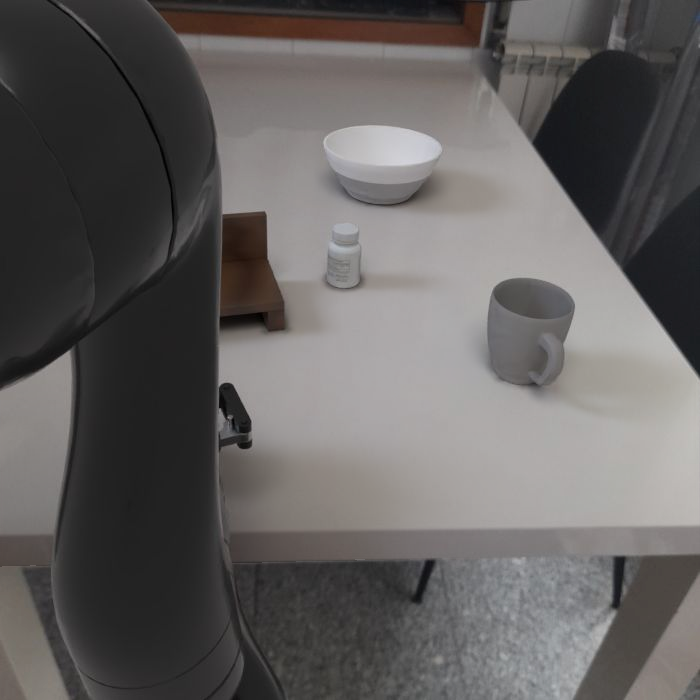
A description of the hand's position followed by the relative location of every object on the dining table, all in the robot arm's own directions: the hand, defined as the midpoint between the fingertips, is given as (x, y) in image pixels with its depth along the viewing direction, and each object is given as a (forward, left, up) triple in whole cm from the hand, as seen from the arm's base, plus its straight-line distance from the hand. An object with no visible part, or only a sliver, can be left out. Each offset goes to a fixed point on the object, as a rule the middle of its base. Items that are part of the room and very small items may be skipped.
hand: (157, 371), depth 63 cm
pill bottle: (+25, +28, -9) cm, 38 cm away
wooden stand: (+5, +24, -9) cm, 26 cm away
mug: (+39, +3, -9) cm, 40 cm away
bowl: (+39, +56, -9) cm, 69 cm away
